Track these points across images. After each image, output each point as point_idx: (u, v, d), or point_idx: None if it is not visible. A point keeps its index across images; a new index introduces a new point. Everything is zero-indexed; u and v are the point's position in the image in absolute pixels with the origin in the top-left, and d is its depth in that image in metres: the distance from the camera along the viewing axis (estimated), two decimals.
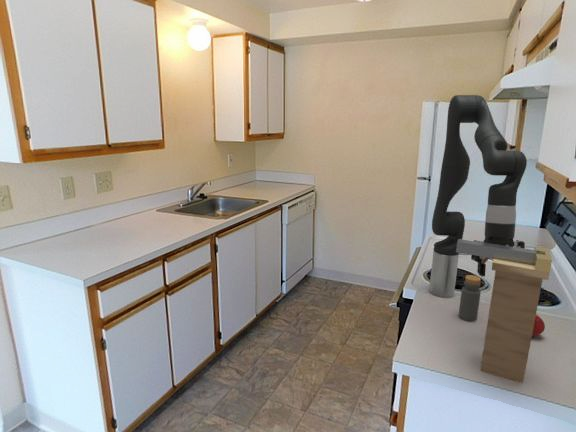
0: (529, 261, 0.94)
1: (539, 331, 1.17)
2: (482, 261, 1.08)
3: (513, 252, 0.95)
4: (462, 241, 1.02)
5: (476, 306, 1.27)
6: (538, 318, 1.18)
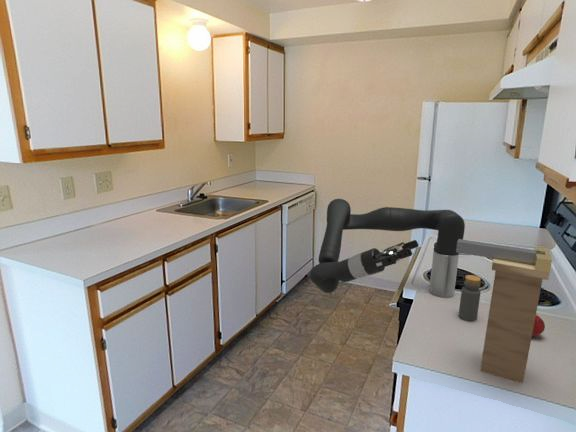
0: (529, 261, 0.94)
1: (539, 331, 1.17)
2: (393, 253, 1.07)
3: (513, 252, 0.95)
4: (462, 241, 1.02)
5: (476, 306, 1.27)
6: (538, 318, 1.18)
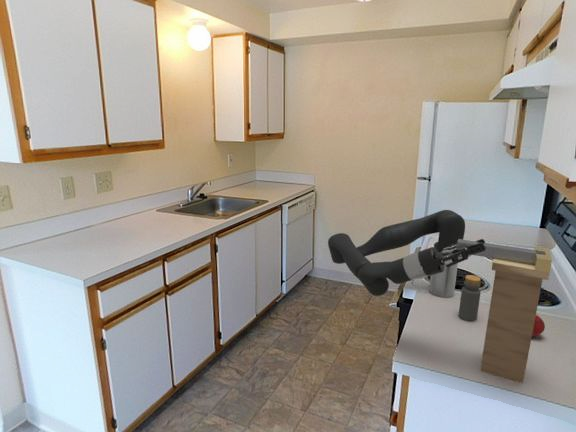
0: (529, 261, 0.94)
1: (539, 331, 1.17)
2: (464, 248, 1.00)
3: (513, 252, 0.95)
4: (462, 241, 1.02)
5: (476, 306, 1.27)
6: (538, 318, 1.18)
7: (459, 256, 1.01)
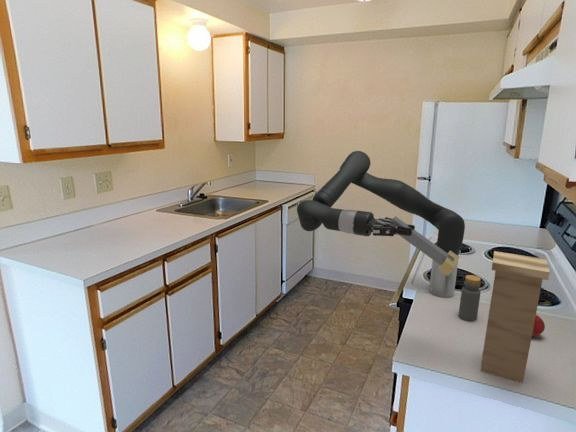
0: (438, 260, 1.05)
1: (539, 331, 1.17)
2: (395, 226, 1.08)
3: (430, 248, 1.05)
4: (397, 220, 1.09)
5: (476, 306, 1.27)
6: (538, 318, 1.18)
7: (387, 230, 1.10)
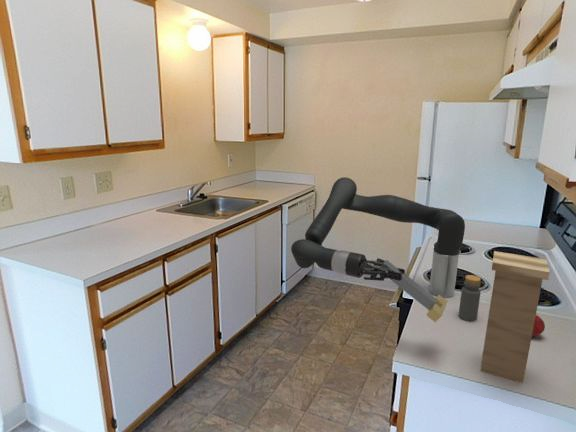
0: (427, 305, 1.08)
1: (539, 331, 1.17)
2: (385, 270, 1.11)
3: (419, 293, 1.09)
4: (387, 264, 1.13)
5: (476, 306, 1.27)
6: (538, 318, 1.18)
7: (378, 274, 1.13)
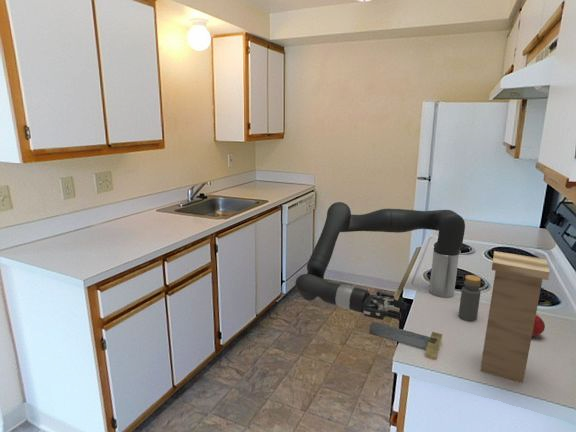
0: (423, 347, 1.13)
1: (539, 331, 1.17)
2: (384, 309, 1.13)
3: (411, 339, 1.14)
4: (374, 325, 1.21)
5: (476, 306, 1.27)
6: (538, 318, 1.18)
7: None
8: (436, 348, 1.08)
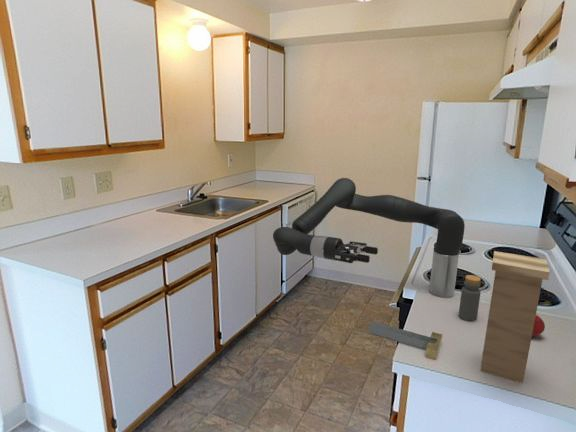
0: (423, 347, 1.13)
1: (539, 331, 1.17)
2: (354, 253, 1.17)
3: (411, 339, 1.14)
4: (374, 325, 1.21)
5: (476, 306, 1.27)
6: (538, 318, 1.18)
7: None
8: (436, 348, 1.08)
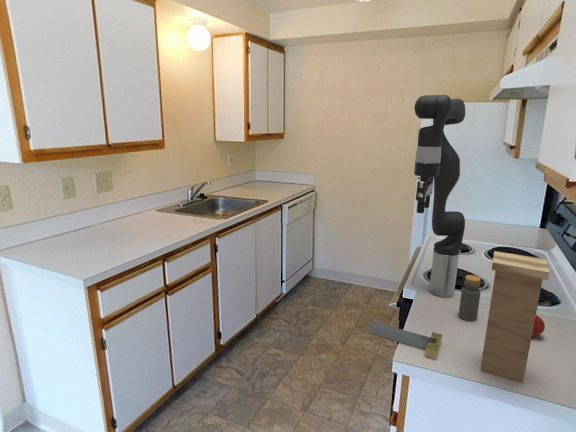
0: (423, 347, 1.13)
1: (539, 331, 1.17)
2: (425, 199, 1.17)
3: (411, 339, 1.14)
4: (374, 325, 1.21)
5: (476, 306, 1.27)
6: (538, 318, 1.18)
7: (420, 192, 1.19)
8: (436, 348, 1.08)
